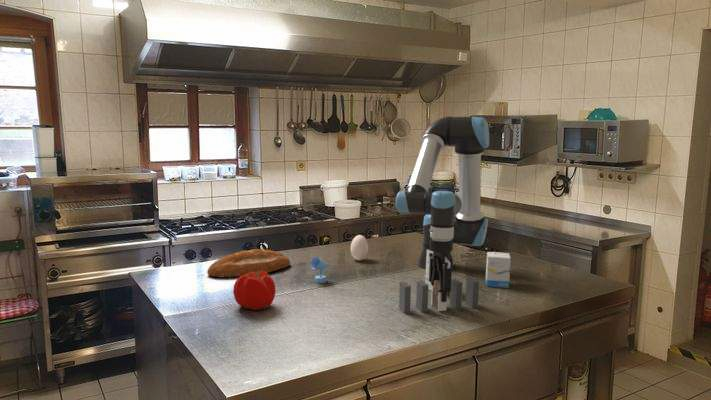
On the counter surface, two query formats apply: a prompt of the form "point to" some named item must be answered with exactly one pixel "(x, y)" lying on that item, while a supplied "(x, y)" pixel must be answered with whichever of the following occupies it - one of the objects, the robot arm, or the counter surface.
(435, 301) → the walnut domino
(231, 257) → the bread
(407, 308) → the domino
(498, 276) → the ink box
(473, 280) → the domino
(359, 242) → the egg
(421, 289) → the domino
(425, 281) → the ink box
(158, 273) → the counter surface
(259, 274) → the tomato
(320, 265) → the spotlight
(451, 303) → the domino
